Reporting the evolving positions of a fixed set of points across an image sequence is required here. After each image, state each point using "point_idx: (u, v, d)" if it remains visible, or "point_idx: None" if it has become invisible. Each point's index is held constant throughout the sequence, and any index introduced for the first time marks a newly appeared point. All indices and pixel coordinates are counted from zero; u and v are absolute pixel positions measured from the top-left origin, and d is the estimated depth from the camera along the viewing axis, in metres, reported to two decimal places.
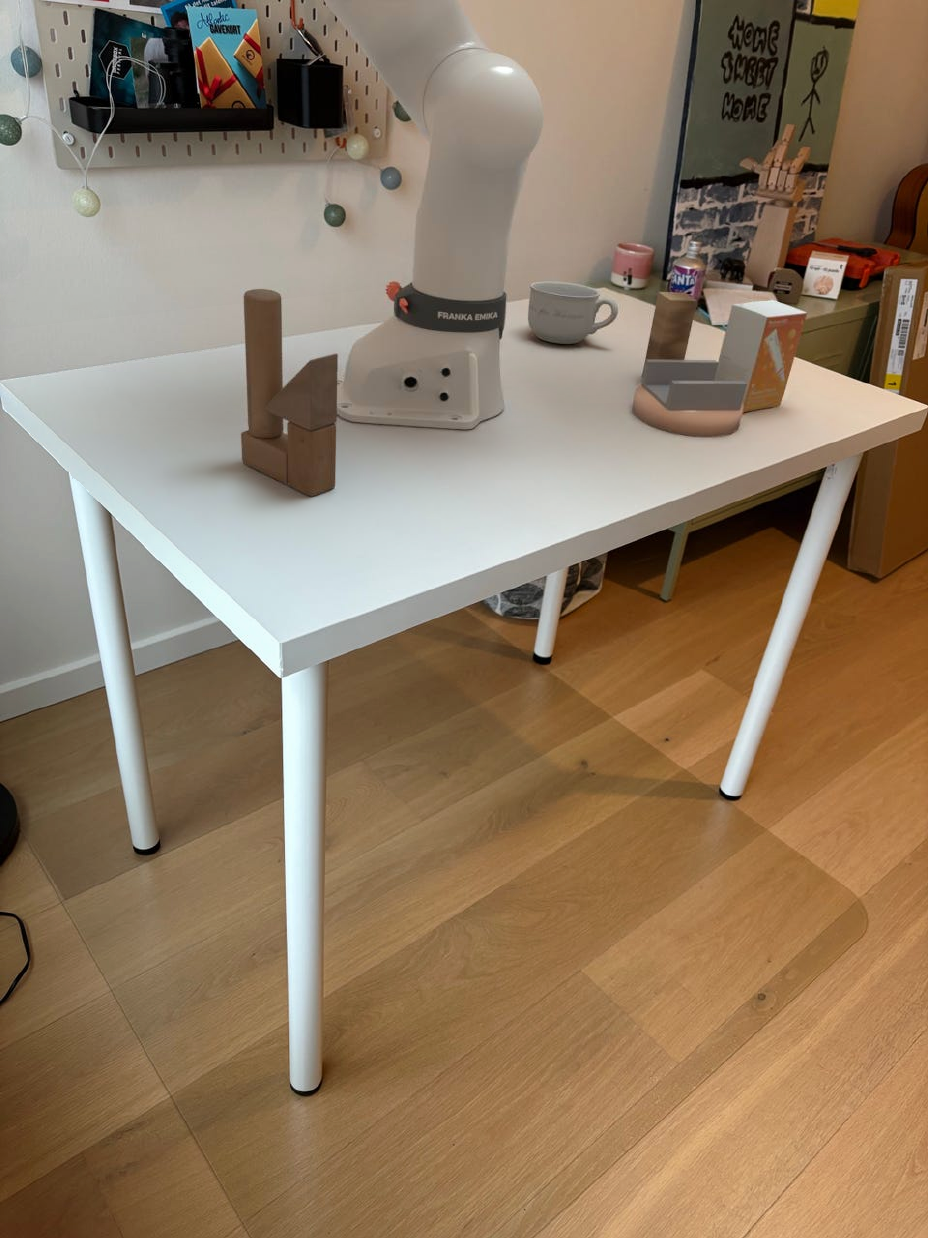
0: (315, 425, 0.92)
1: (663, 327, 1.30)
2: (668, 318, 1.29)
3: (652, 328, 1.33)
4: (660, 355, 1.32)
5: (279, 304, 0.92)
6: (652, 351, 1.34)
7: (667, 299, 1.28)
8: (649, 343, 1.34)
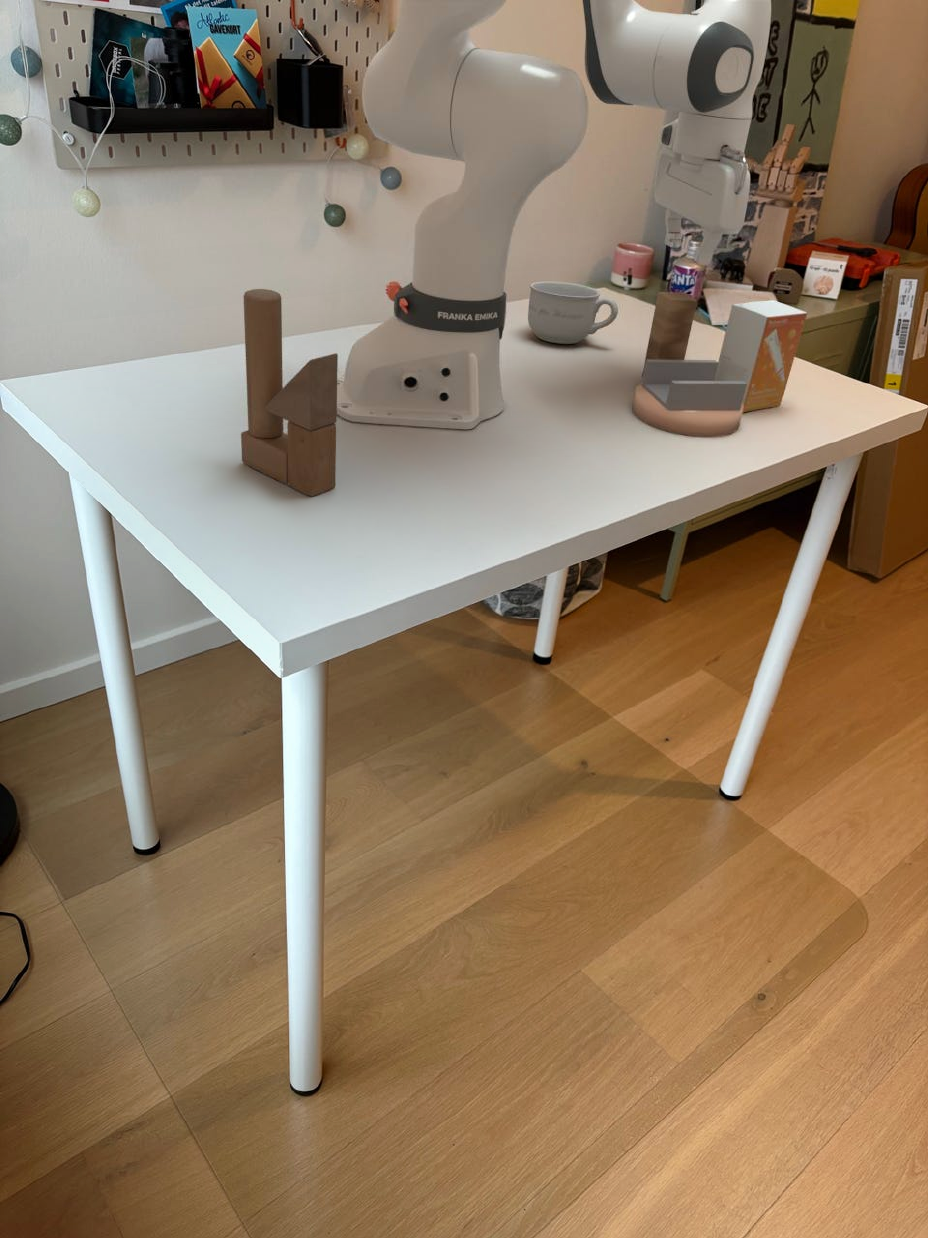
0: (315, 425, 0.92)
1: (663, 327, 1.30)
2: (668, 318, 1.29)
3: (652, 328, 1.33)
4: (660, 355, 1.32)
5: (279, 304, 0.92)
6: (652, 351, 1.34)
7: (667, 299, 1.28)
8: (649, 343, 1.34)
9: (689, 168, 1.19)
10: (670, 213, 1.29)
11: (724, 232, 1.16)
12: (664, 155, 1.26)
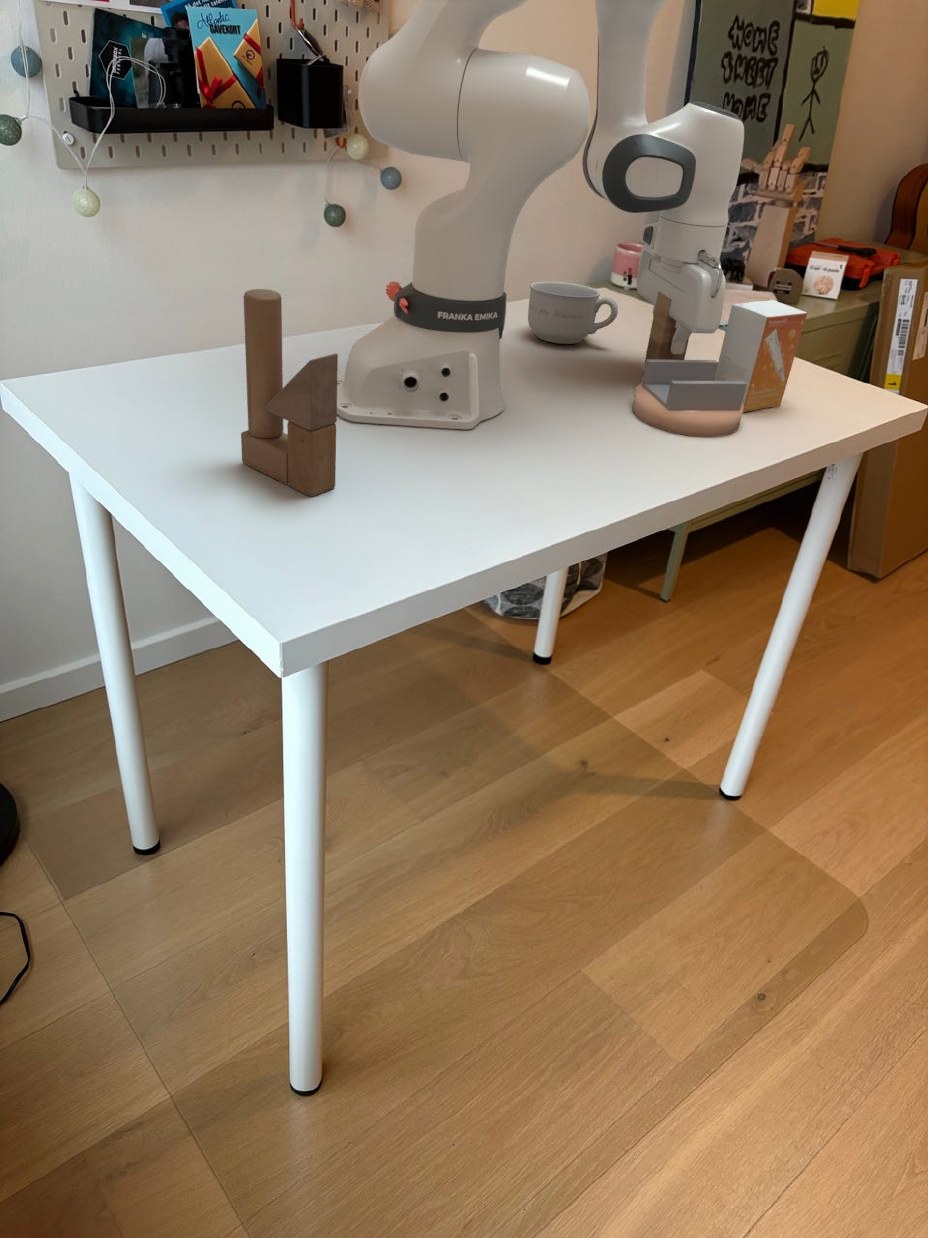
0: (315, 425, 0.92)
1: (663, 327, 1.30)
2: (668, 318, 1.29)
3: (652, 328, 1.33)
4: (660, 355, 1.32)
5: (279, 304, 0.92)
6: (652, 351, 1.34)
7: (667, 299, 1.28)
8: (649, 343, 1.34)
9: (669, 269, 1.26)
10: None
11: (701, 332, 1.23)
12: (646, 252, 1.33)
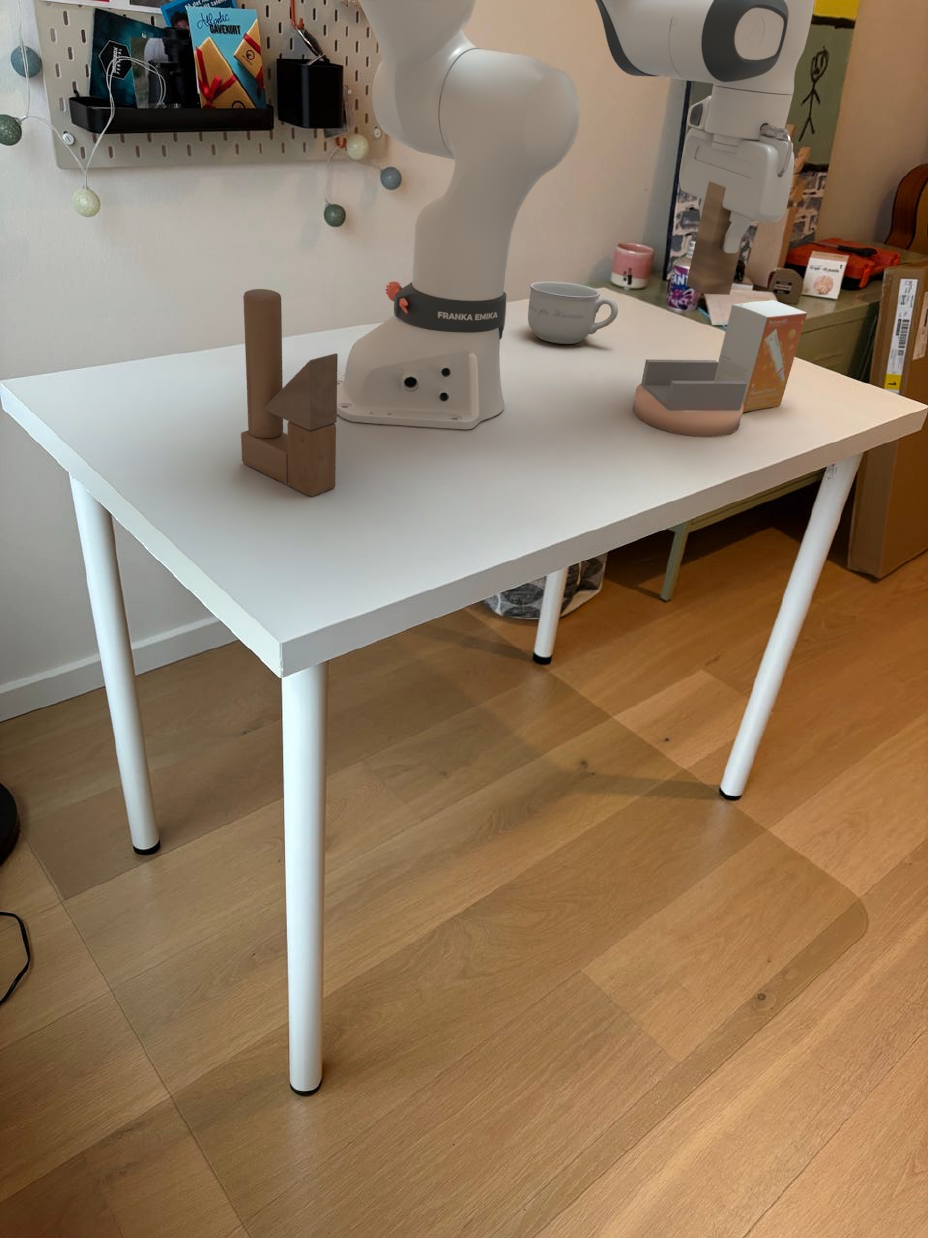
0: (315, 425, 0.92)
1: (715, 221, 1.12)
2: (722, 210, 1.11)
3: (700, 225, 1.15)
4: (711, 255, 1.14)
5: (279, 304, 0.92)
6: (700, 252, 1.16)
7: (721, 187, 1.11)
8: (696, 244, 1.16)
9: (724, 149, 1.08)
10: None
11: (765, 219, 1.05)
12: (692, 137, 1.15)
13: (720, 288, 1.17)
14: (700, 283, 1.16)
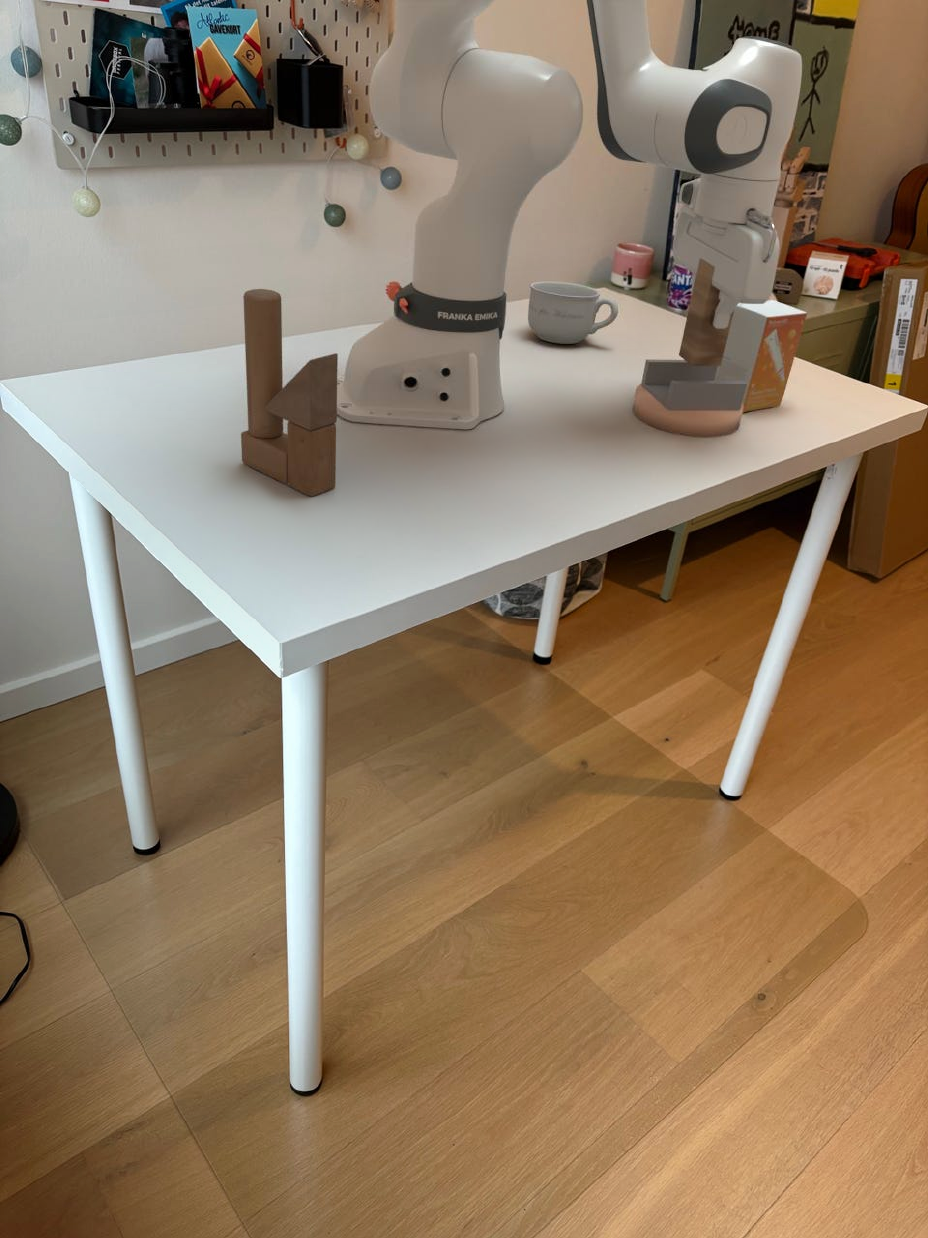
0: (315, 425, 0.92)
1: (705, 298, 1.15)
2: (711, 288, 1.14)
3: (692, 300, 1.18)
4: (701, 330, 1.17)
5: (279, 304, 0.92)
6: (692, 326, 1.19)
7: (710, 266, 1.13)
8: (688, 317, 1.19)
9: (712, 231, 1.11)
10: None
11: (750, 302, 1.08)
12: (684, 214, 1.18)
13: (711, 360, 1.20)
14: (691, 356, 1.19)
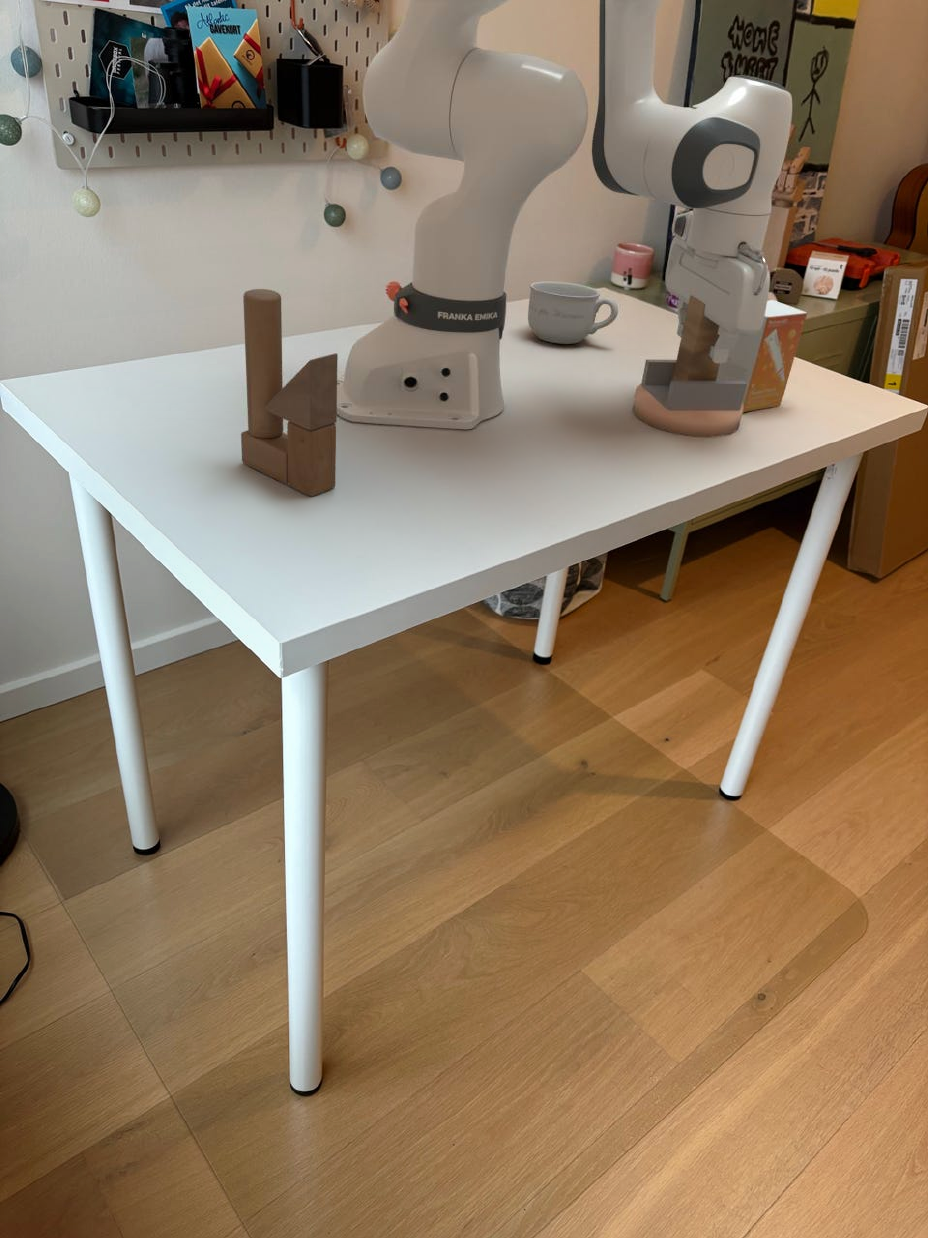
0: (315, 425, 0.92)
1: (695, 334, 1.17)
2: (701, 325, 1.16)
3: (683, 335, 1.21)
4: (692, 365, 1.19)
5: (279, 304, 0.92)
6: (683, 361, 1.21)
7: (701, 303, 1.16)
8: (679, 352, 1.22)
9: (704, 263, 1.13)
10: (683, 304, 1.22)
11: (742, 333, 1.10)
12: (677, 245, 1.20)
13: None
14: None
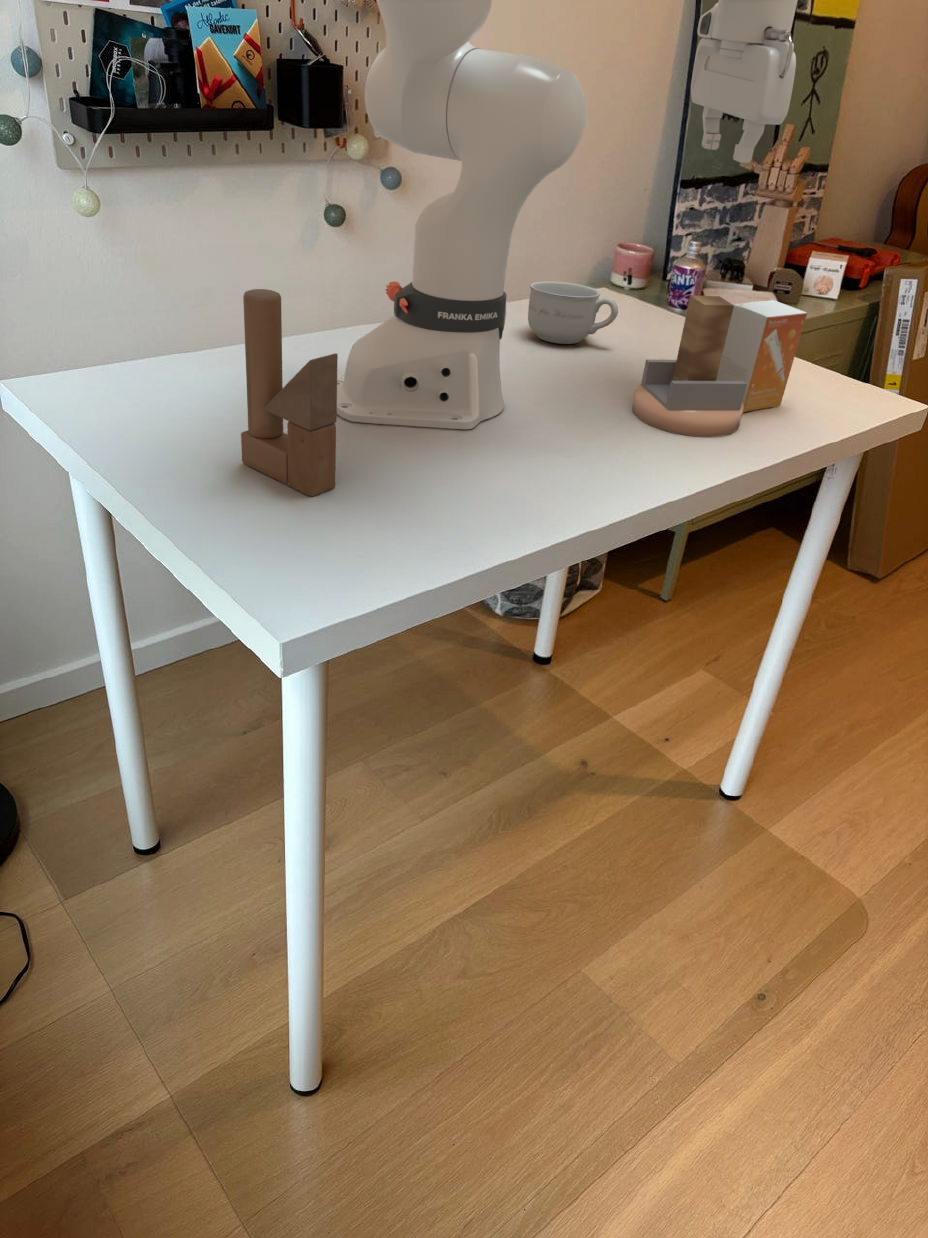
0: (315, 425, 0.92)
1: (696, 334, 1.17)
2: (702, 325, 1.16)
3: (683, 335, 1.21)
4: (692, 365, 1.19)
5: (279, 304, 0.92)
6: (683, 361, 1.21)
7: (701, 303, 1.16)
8: (679, 352, 1.22)
9: (729, 55, 1.11)
10: (708, 112, 1.20)
11: (767, 121, 1.08)
12: (702, 48, 1.18)
13: None
14: None
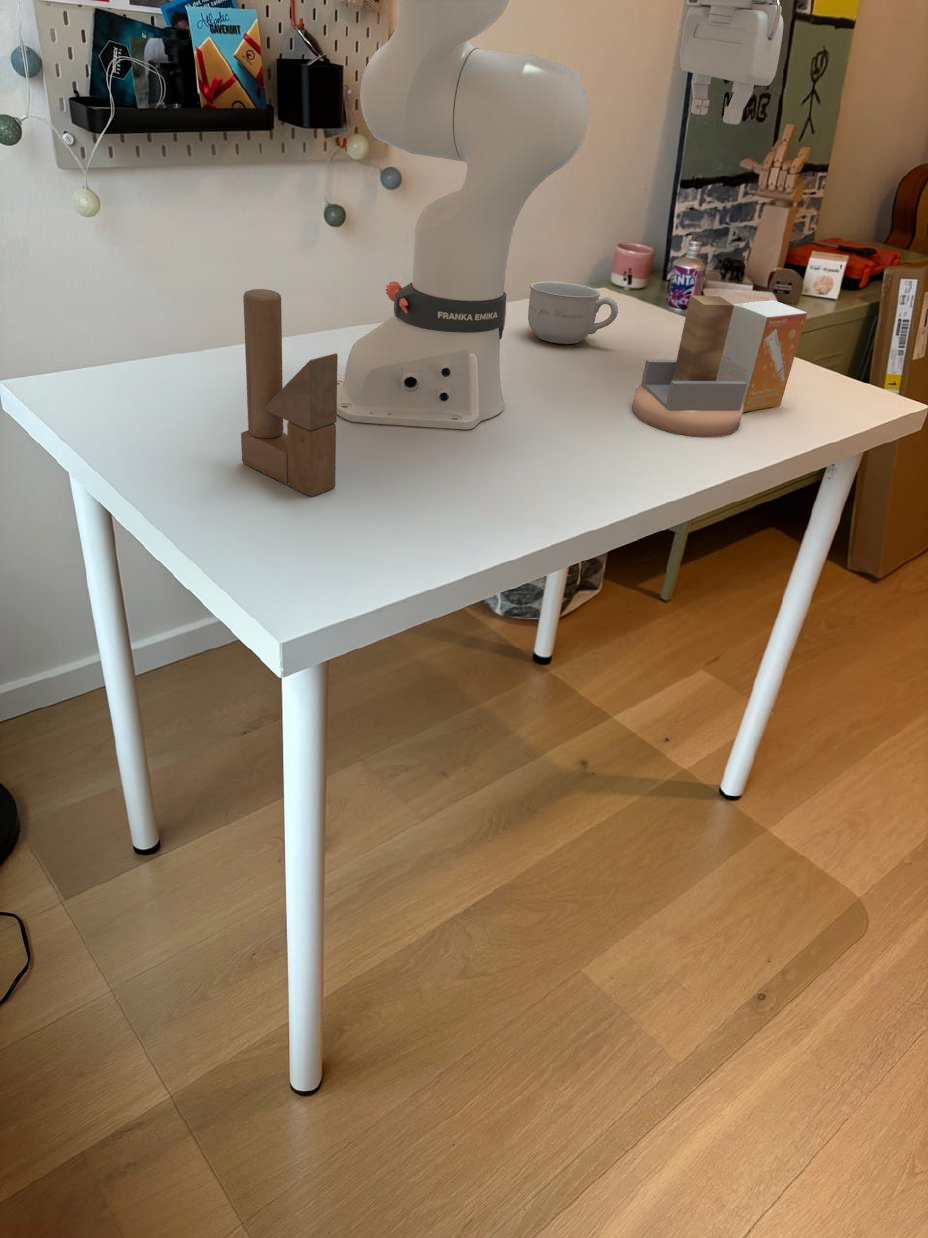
0: (315, 425, 0.92)
1: (696, 334, 1.17)
2: (702, 325, 1.16)
3: (683, 335, 1.21)
4: (692, 365, 1.19)
5: (279, 304, 0.92)
6: (683, 361, 1.21)
7: (701, 303, 1.16)
8: (679, 352, 1.22)
9: (719, 20, 1.16)
10: (697, 78, 1.25)
11: (756, 82, 1.13)
12: (691, 16, 1.23)
13: None
14: None
